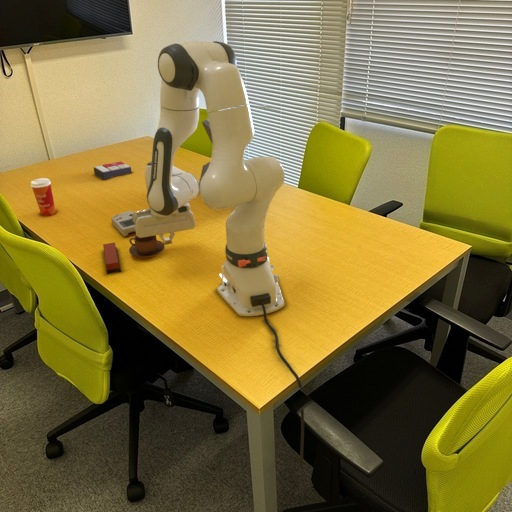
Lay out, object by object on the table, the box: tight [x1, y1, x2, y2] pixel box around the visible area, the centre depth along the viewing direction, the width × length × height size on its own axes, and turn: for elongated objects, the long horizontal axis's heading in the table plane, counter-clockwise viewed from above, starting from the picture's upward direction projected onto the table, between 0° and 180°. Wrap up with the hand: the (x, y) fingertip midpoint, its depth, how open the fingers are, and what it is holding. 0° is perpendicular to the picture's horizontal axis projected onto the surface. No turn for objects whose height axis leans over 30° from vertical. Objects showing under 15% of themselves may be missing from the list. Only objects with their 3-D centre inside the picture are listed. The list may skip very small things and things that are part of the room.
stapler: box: [102, 242, 122, 275], centre depth 158 cm, size 16×4×3 cm, turn 19°
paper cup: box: [30, 177, 57, 217], centre depth 191 cm, size 8×8×14 cm
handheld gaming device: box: [111, 210, 136, 237], centre depth 180 cm, size 9×15×4 cm, turn 34°
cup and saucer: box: [128, 234, 165, 259], centre depth 162 cm, size 12×12×6 cm
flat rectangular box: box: [93, 161, 132, 181], centre depth 234 cm, size 11×4×15 cm
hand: (167, 243), depth 163 cm, fingers closed
